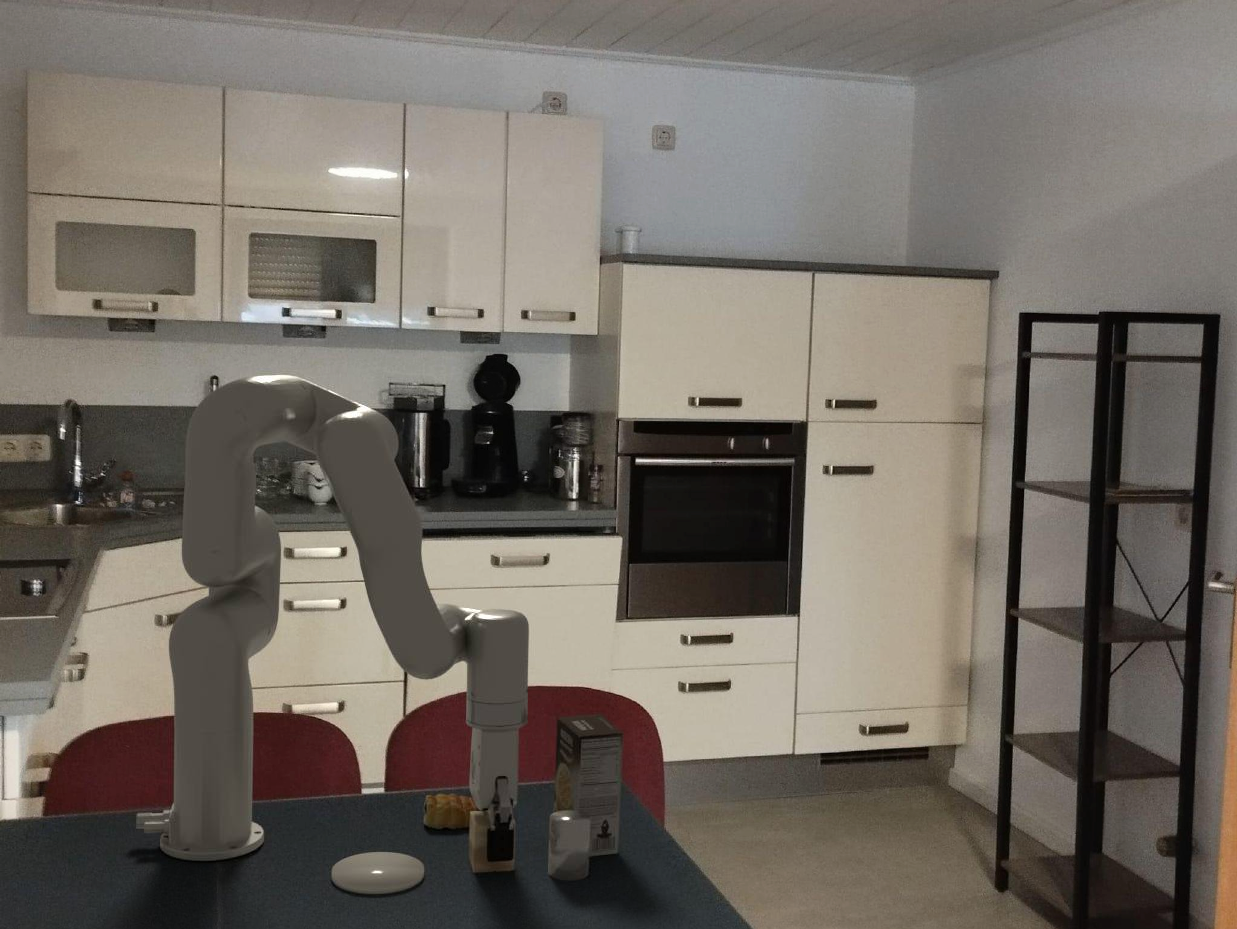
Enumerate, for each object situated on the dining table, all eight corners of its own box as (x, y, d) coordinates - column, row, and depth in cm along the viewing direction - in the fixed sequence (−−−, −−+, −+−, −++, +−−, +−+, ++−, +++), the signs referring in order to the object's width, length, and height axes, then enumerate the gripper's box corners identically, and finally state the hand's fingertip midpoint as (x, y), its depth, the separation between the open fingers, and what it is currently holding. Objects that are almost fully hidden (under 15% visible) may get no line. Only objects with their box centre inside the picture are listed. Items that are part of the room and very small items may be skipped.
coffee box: (550, 834, 178) (554, 715, 176) (595, 829, 180) (600, 712, 179) (573, 859, 169) (578, 735, 168) (620, 854, 172) (625, 731, 170)
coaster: (332, 896, 155) (332, 889, 155) (330, 860, 166) (330, 854, 166) (427, 891, 158) (428, 884, 158) (420, 856, 168) (420, 850, 168)
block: (473, 873, 164) (474, 825, 163) (468, 857, 169) (470, 811, 168) (514, 870, 165) (515, 823, 164) (508, 855, 170) (509, 809, 169)
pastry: (488, 812, 186) (489, 785, 185) (495, 830, 179) (496, 802, 179) (420, 815, 183) (421, 788, 183) (424, 833, 177) (425, 805, 177)
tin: (551, 881, 162) (553, 825, 161) (544, 865, 167) (546, 811, 166) (592, 879, 163) (594, 823, 163) (583, 863, 168) (585, 809, 167)
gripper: (458, 694, 173) (456, 823, 174) (475, 732, 156) (472, 874, 157) (516, 692, 174) (513, 820, 176) (538, 729, 158) (535, 870, 159)
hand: (494, 845), depth 167 cm, fingers open, 9 cm apart
